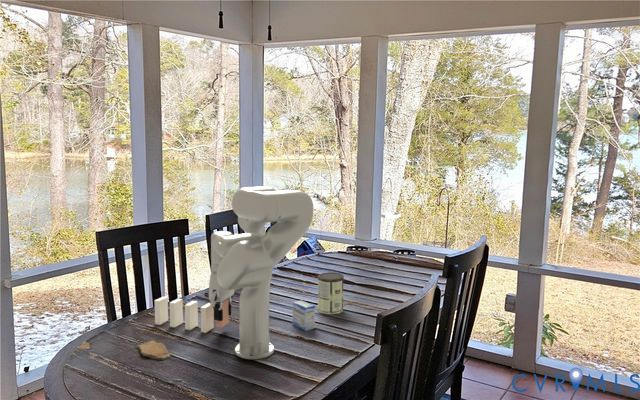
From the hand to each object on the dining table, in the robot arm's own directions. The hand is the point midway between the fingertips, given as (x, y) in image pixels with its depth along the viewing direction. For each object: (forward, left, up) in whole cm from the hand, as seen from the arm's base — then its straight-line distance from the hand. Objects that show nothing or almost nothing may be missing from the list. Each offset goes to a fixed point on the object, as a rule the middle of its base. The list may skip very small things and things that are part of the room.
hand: (222, 316), depth 180 cm
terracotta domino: (0, 0, -3) cm, 3 cm away
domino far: (+9, +24, -6) cm, 26 cm away
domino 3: (+2, +6, -6) cm, 8 cm away
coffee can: (+24, -38, -6) cm, 46 cm away
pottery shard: (-17, +19, -6) cm, 26 cm away
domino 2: (+4, +12, -6) cm, 14 cm away
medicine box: (+6, -28, -6) cm, 29 cm away
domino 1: (+6, +18, -6) cm, 20 cm away
